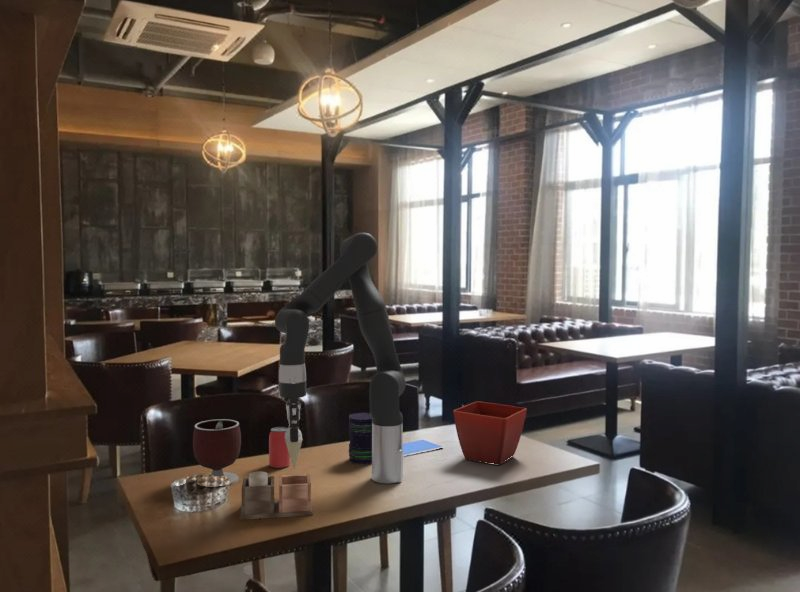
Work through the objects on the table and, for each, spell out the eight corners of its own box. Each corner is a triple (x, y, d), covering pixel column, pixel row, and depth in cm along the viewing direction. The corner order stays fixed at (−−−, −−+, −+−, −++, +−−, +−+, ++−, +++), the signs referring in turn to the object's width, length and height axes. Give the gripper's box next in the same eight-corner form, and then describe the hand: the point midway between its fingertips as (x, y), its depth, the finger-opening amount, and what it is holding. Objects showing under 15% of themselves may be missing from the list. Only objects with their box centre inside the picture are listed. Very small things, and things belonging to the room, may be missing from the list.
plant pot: (527, 456, 222) (527, 407, 221) (504, 470, 205) (505, 418, 205) (476, 447, 232) (477, 400, 231) (451, 460, 216) (451, 410, 215)
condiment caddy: (311, 502, 177) (311, 466, 177) (312, 515, 168) (312, 477, 168) (241, 506, 174) (241, 469, 173) (239, 519, 165) (239, 481, 164)
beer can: (265, 467, 207) (264, 430, 207) (276, 461, 213) (276, 425, 213) (282, 470, 205) (282, 432, 204) (293, 464, 211) (293, 427, 210)
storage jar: (367, 466, 209) (367, 420, 208) (342, 461, 214) (342, 416, 213) (384, 458, 217) (384, 414, 217) (360, 454, 222) (360, 411, 222)
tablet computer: (399, 459, 219) (399, 455, 218) (379, 450, 229) (379, 447, 229) (444, 450, 230) (444, 446, 230) (423, 442, 240) (423, 438, 240)
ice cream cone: (285, 465, 187) (284, 414, 186) (303, 465, 187) (302, 413, 186) (284, 471, 182) (283, 418, 181) (302, 470, 182) (301, 417, 181)
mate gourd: (190, 476, 198) (190, 411, 197) (237, 471, 203) (236, 408, 203) (196, 493, 184) (195, 423, 183) (245, 486, 189) (245, 419, 188)
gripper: (278, 376, 190) (279, 433, 190) (279, 384, 176) (281, 446, 176) (304, 375, 191) (305, 432, 192) (307, 383, 177) (308, 445, 178)
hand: (293, 438), depth 184 cm, fingers closed on ice cream cone, 5 cm apart
